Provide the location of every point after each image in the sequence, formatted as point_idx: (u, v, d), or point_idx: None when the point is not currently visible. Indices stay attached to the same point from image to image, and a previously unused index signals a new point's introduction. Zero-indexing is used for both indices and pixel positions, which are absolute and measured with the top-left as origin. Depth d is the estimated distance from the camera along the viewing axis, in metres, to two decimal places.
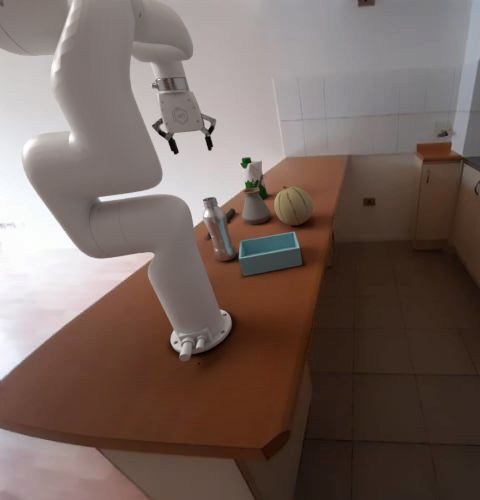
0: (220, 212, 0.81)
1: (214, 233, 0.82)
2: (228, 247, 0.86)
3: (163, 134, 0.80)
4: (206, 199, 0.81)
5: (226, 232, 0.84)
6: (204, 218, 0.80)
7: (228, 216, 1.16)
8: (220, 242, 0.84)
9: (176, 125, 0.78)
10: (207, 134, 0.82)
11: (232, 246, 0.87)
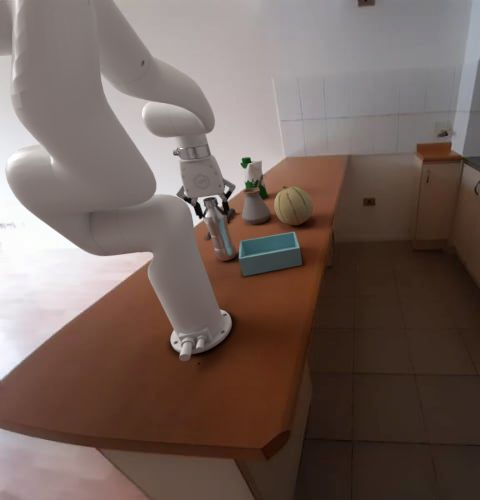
0: (220, 212, 0.81)
1: (214, 233, 0.82)
2: (228, 247, 0.86)
3: (189, 200, 0.78)
4: (206, 199, 0.81)
5: (226, 232, 0.84)
6: (204, 218, 0.80)
7: (228, 216, 1.16)
8: (220, 242, 0.84)
9: (197, 191, 0.75)
10: (224, 200, 0.80)
11: (232, 246, 0.87)
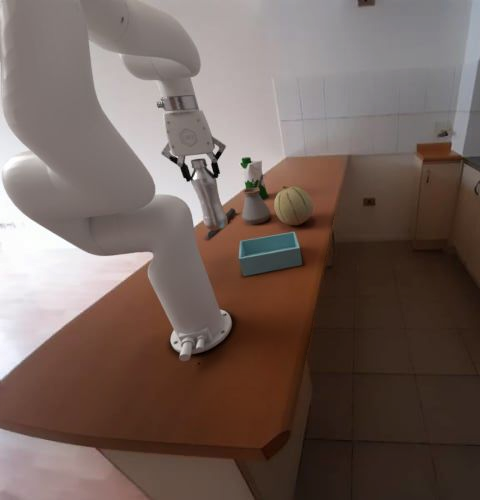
0: (209, 174, 0.75)
1: (203, 198, 0.76)
2: (218, 215, 0.80)
3: (175, 160, 0.72)
4: (195, 160, 0.75)
5: (216, 198, 0.78)
6: (192, 180, 0.74)
7: (228, 216, 1.16)
8: (209, 208, 0.78)
9: (183, 148, 0.69)
10: (214, 160, 0.74)
11: (223, 214, 0.81)
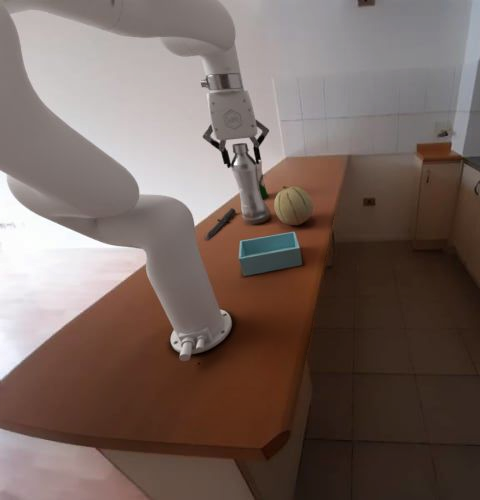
0: (251, 160, 0.71)
1: (244, 185, 0.72)
2: (258, 203, 0.75)
3: (216, 144, 0.67)
4: None
5: (256, 185, 0.74)
6: (233, 166, 0.70)
7: (228, 216, 1.16)
8: (249, 196, 0.74)
9: (227, 131, 0.65)
10: (256, 145, 0.69)
11: (262, 203, 0.77)
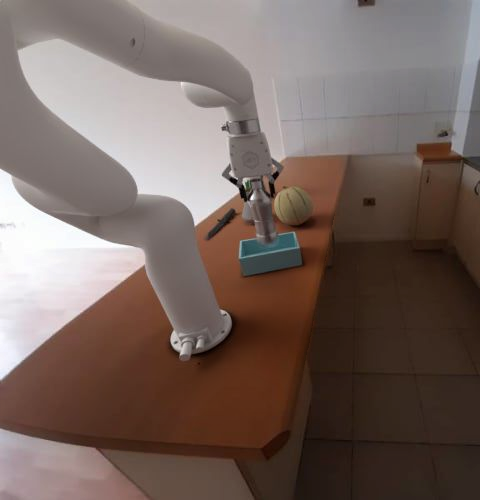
0: (266, 195, 0.75)
1: (259, 218, 0.76)
2: (272, 233, 0.80)
3: (234, 181, 0.72)
4: (252, 180, 0.75)
5: (271, 217, 0.78)
6: (250, 201, 0.74)
7: (228, 216, 1.16)
8: (264, 228, 0.78)
9: (245, 170, 0.69)
10: (271, 181, 0.74)
11: (276, 232, 0.81)
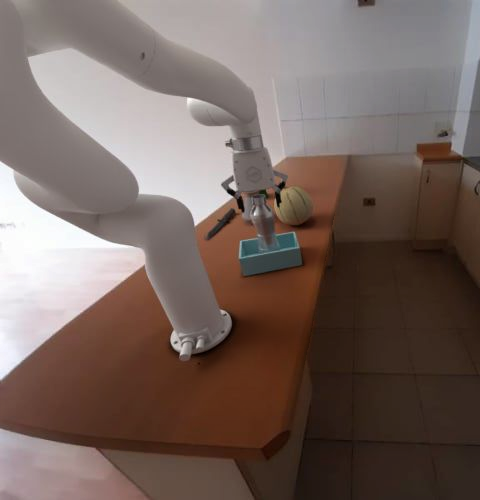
0: (269, 210, 0.77)
1: (262, 232, 0.79)
2: (274, 247, 0.82)
3: (232, 193, 0.73)
4: (254, 196, 0.77)
5: (273, 231, 0.80)
6: (253, 216, 0.76)
7: (228, 216, 1.16)
8: (267, 242, 0.80)
9: (248, 184, 0.71)
10: (278, 191, 0.75)
11: (278, 246, 0.83)
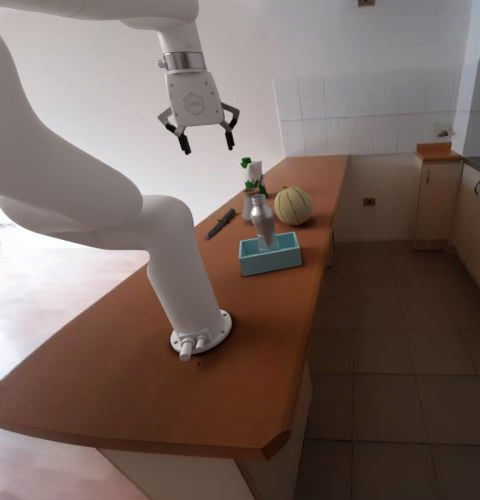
0: (269, 210, 0.77)
1: (262, 232, 0.79)
2: (274, 247, 0.82)
3: (172, 128, 0.61)
4: (254, 196, 0.77)
5: (273, 231, 0.80)
6: (253, 216, 0.76)
7: (228, 216, 1.16)
8: (267, 242, 0.80)
9: (189, 116, 0.59)
10: (228, 129, 0.63)
11: (278, 246, 0.83)
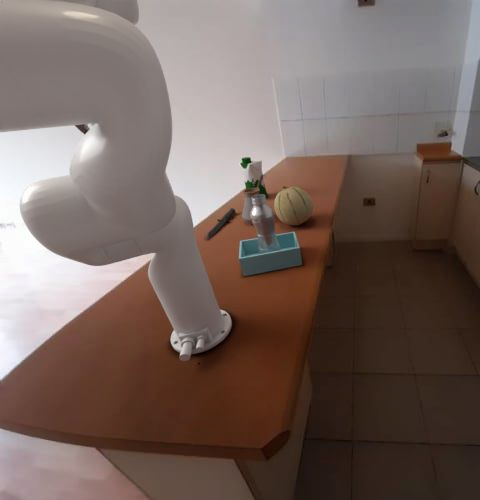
0: (269, 210, 0.77)
1: (262, 232, 0.79)
2: (274, 247, 0.82)
3: None
4: (254, 196, 0.77)
5: (273, 231, 0.80)
6: (253, 216, 0.76)
7: (228, 216, 1.16)
8: (267, 242, 0.80)
9: None
10: None
11: (278, 246, 0.83)
